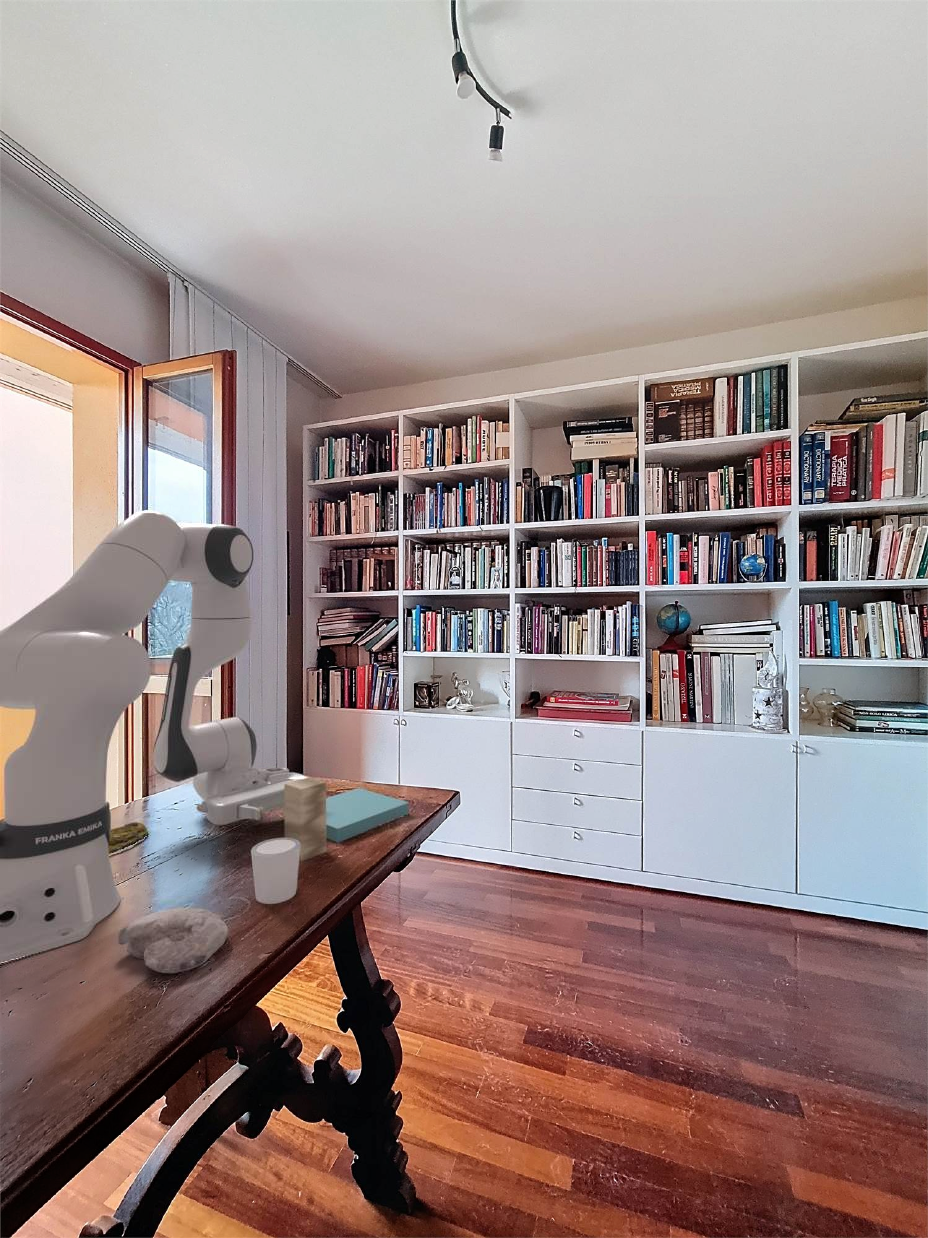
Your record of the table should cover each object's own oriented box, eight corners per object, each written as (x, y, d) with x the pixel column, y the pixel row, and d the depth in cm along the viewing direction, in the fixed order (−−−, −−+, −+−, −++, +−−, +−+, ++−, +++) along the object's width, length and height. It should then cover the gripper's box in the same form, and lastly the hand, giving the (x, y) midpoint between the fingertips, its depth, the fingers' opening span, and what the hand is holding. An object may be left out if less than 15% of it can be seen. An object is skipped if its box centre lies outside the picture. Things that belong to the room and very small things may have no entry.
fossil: (244, 906, 67) (178, 958, 58) (244, 938, 68) (178, 995, 58) (172, 886, 71) (99, 931, 62) (172, 916, 72) (99, 966, 62)
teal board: (337, 842, 96) (337, 828, 96) (288, 822, 106) (288, 809, 106) (409, 814, 110) (408, 802, 110) (359, 799, 120) (359, 788, 120)
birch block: (301, 861, 89) (301, 789, 89) (284, 853, 92) (284, 783, 92) (326, 851, 93) (326, 782, 93) (309, 844, 96) (309, 777, 96)
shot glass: (291, 906, 75) (291, 856, 75) (242, 906, 75) (242, 856, 75) (307, 882, 81) (306, 836, 81) (262, 882, 82) (262, 836, 82)
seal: (110, 836, 104) (63, 869, 89) (107, 812, 104) (59, 841, 89) (161, 827, 105) (122, 859, 90) (158, 804, 105) (119, 832, 90)
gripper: (192, 789, 97) (229, 804, 88) (291, 765, 113) (331, 777, 104) (192, 824, 97) (229, 843, 88) (291, 795, 113) (332, 809, 104)
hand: (285, 807), depth 96 cm, fingers open, 8 cm apart
